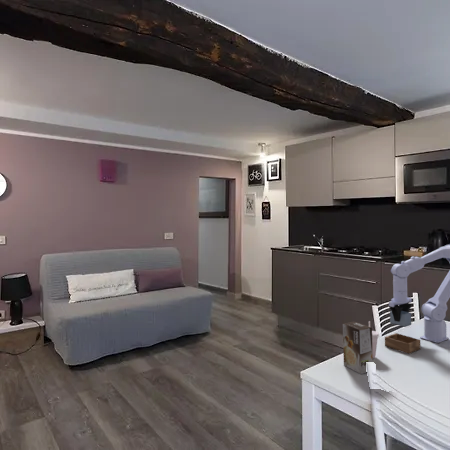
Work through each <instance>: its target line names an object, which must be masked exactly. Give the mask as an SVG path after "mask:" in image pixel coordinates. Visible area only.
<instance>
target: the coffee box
mask: <svg viewBox="0 0 450 450" xmlns="http://www.w3.org/2000/svg"><path fill="white" fill-rule="evenodd" d="M372 331H373V327H372V326H370V327H369V325H366V324H363V323H360V322H357V321H349V322H346V323H345V322H344V323H342V340H343V341H342V343H343V344H342V347H343V366H344V367H346V368H349V369H350V370H352V371H354V372H356V373H358V374H360V375H362V374H366V362H373V363H374V361H373V359H374V358H373V352H372Z"/></svg>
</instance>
